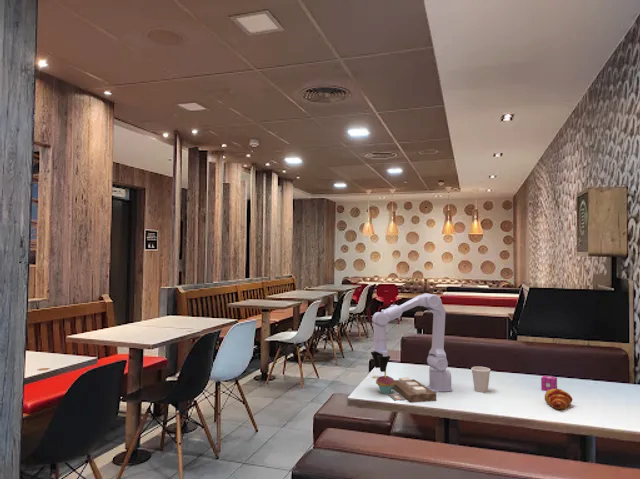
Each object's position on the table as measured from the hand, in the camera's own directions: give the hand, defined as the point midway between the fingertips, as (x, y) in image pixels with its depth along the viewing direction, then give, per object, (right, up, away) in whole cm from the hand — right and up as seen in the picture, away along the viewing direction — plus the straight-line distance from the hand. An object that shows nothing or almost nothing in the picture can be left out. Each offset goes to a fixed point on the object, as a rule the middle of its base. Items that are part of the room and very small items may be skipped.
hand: (380, 369), depth 206 cm
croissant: (+72, -10, -17) cm, 74 cm away
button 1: (+12, -9, +6) cm, 16 cm away
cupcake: (+2, -10, 0) cm, 11 cm away
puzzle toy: (+79, -11, +5) cm, 80 cm away
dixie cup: (+47, -11, +3) cm, 48 cm away
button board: (+14, -10, -2) cm, 17 cm away
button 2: (+15, -8, -10) cm, 20 cm away
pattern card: (+6, -10, -9) cm, 14 cm away
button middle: (+14, -9, -2) cm, 16 cm away
